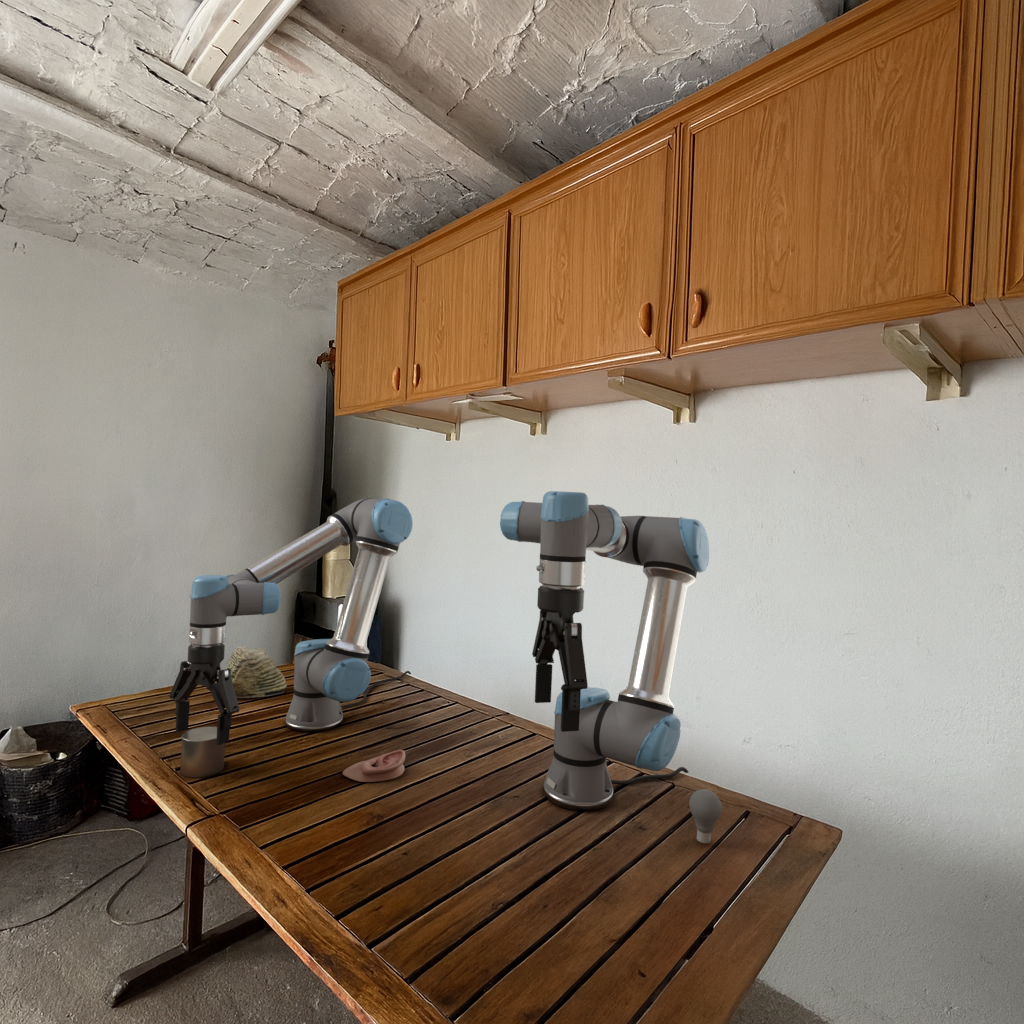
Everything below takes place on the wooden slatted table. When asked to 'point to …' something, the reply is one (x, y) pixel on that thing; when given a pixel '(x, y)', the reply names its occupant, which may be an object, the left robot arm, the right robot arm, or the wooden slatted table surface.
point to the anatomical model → (377, 768)
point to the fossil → (254, 674)
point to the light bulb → (705, 812)
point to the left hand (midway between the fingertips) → (201, 736)
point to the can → (201, 752)
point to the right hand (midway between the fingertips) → (555, 715)
